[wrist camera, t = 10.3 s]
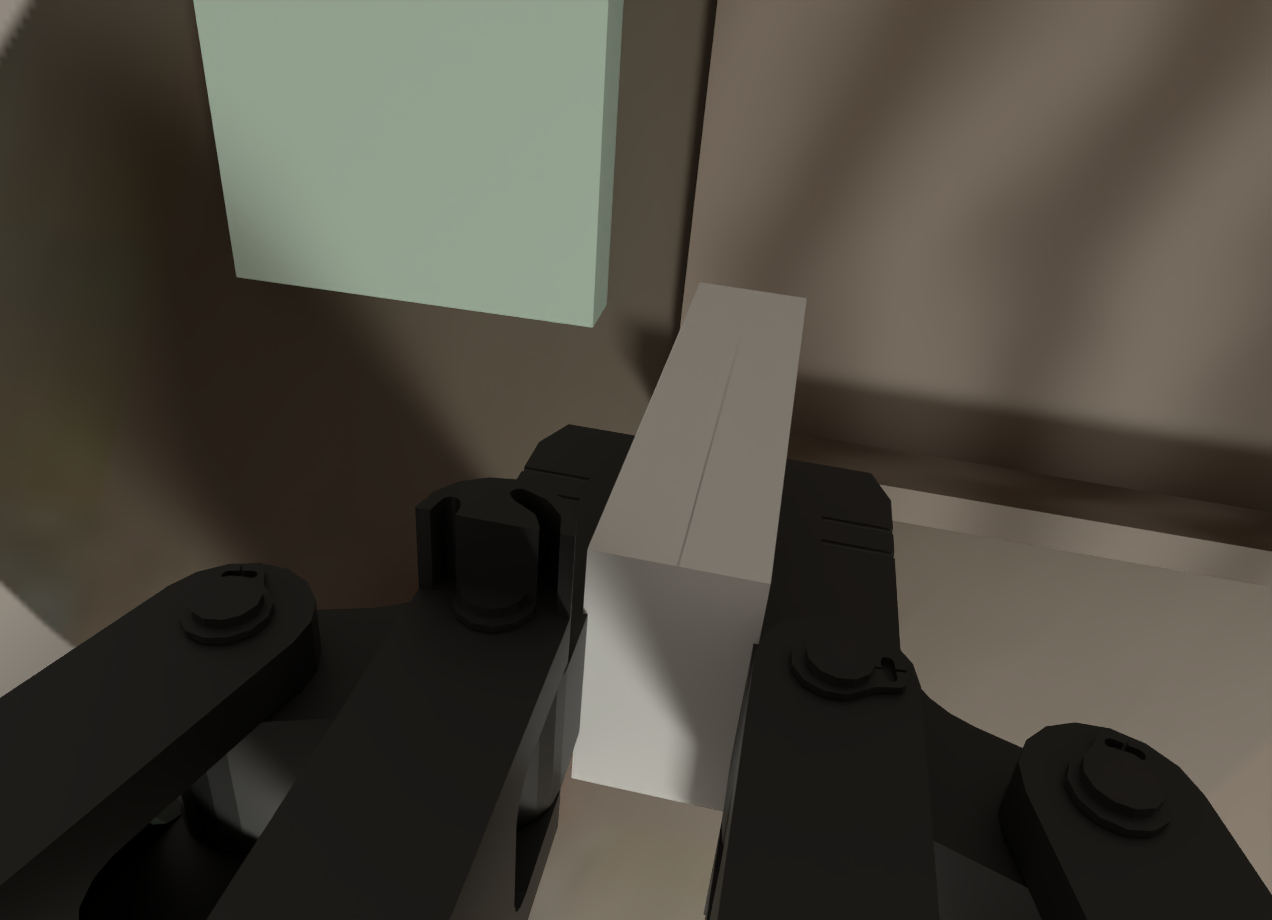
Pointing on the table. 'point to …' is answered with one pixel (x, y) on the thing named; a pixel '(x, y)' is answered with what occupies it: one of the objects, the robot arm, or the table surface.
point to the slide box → (1014, 258)
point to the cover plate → (420, 147)
